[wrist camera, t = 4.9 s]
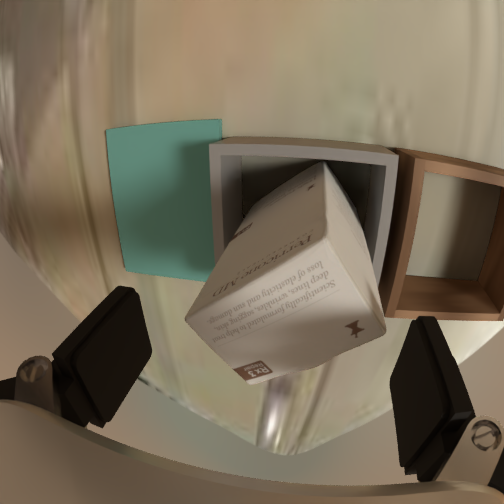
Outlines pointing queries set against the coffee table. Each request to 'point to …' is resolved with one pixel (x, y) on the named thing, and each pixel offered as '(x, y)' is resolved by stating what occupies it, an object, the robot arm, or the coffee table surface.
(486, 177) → the walnut bin
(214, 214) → the grey bin
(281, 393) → the coffee table surface
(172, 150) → the teal pad
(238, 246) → the skincare box
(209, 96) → the coffee table surface
